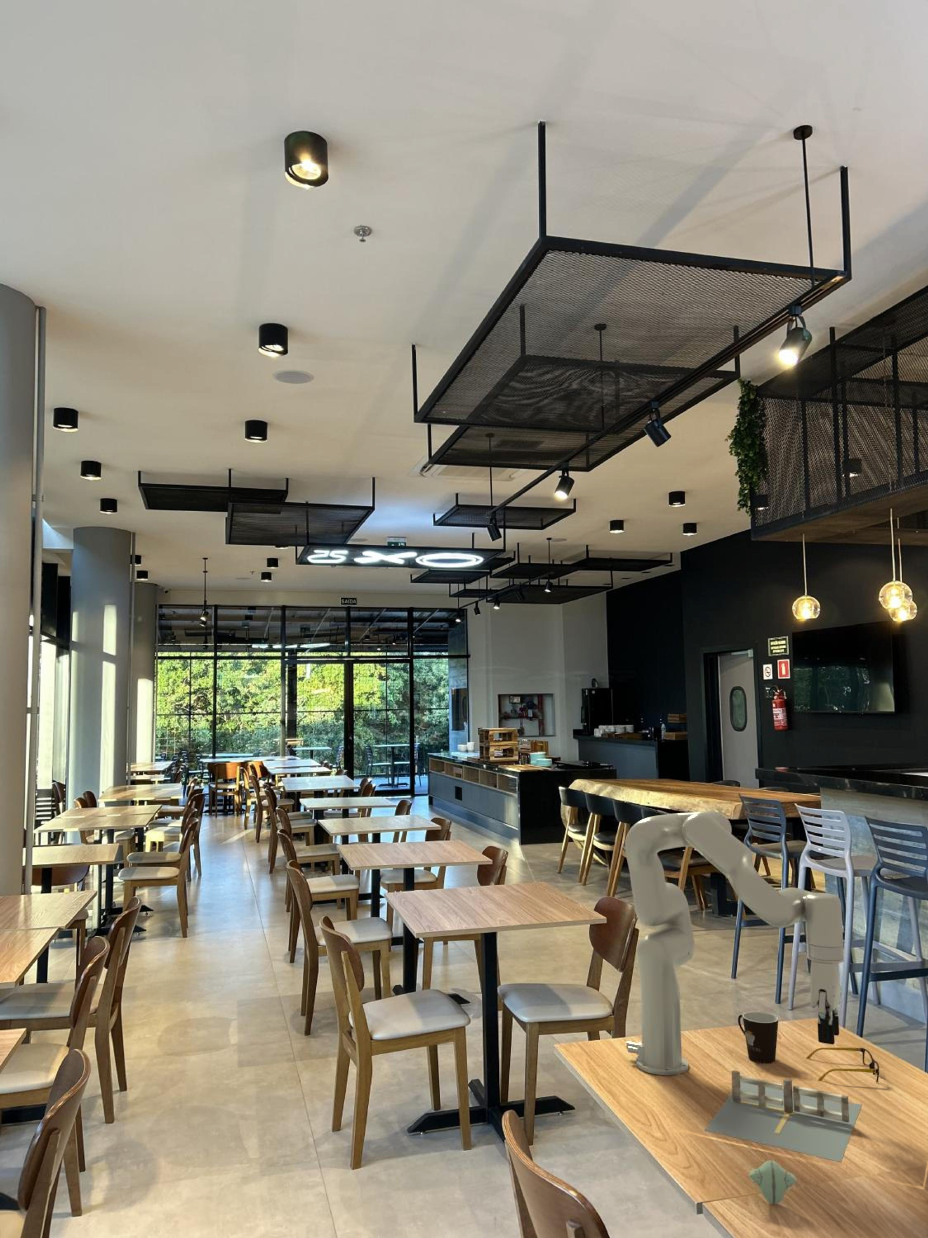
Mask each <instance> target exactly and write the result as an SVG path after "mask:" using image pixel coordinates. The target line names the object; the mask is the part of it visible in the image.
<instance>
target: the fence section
mask: <svg viewBox="0 0 928 1238" xmlns="http://www.w3.org/2000/svg"><path fill="white" fill-rule="evenodd" d="M740 1082H743V1083H748V1084H753V1085H758V1094H754V1093H750V1092H745V1091H741V1086H740ZM765 1087H768V1088H773V1089H778V1090H782V1089H783V1092H784V1111H785V1112H787V1113H793V1096H792V1091H793V1080H792V1079H790V1078H783V1079H782V1083H780V1082H776V1081H770V1080H766V1079H761V1078H755V1077H750V1076H746V1075H741V1072H740V1071H739V1070H731V1093H732V1100H733V1101H734V1102H740V1101H741V1097H742V1098H747V1099H751V1100H756V1101H759V1107H763V1108H765V1106H766V1103H770V1104H775V1105H780V1106H782V1105H783V1099H779V1098H774V1097H769V1096H765Z"/></svg>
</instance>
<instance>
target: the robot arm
mask: <svg viewBox="0 0 928 1238" xmlns="http://www.w3.org/2000/svg"><path fill="white" fill-rule="evenodd" d="M732 829H733V828H732V825H731V823H730V820H729V819H728V818H727V817H726V816H725V815H724V814H723V813H721V812H719V811H715V810H707V811H698V812H680V813H679V812H678V813H667V814H660V815H654V816H649V817H646V818H643V819H641V820H639V821H637V822H636V823H635V824H633V825H632V826H631V827H630V829H629V830H628V832H627V834H626V837H625V841H624V851H625V857H626V860H627V866H628V871H629V876H630V885H631V886H630V887H631V892H632V898H633V906H634V911H635V914H636V915H635V916H636V918H637V919H638V920H639V921H638V922H640V924H642V925H644V926H646V927H649V928H650V927H657V928H658V930H656V931H653V932H650V933H648V934H646V935H644V936H643V937H642V938H641V939H640V941H639V942H638V944H637V947H636V953H635V957H636V962H637V963H636V964H637V968H638V975H639V984H640V985H639V986H640V1006H641V1008H640V1009H641V1010H640V1011H641V1012H640V1017H641V1042H639V1043H637V1042H635V1041H630V1040H628V1041H626V1049H627V1053H632V1054H636V1055H637V1057H636V1058H635V1064H636V1065H635V1066H637V1068H638V1069H640V1070H641V1071H644V1072H645V1073H649V1074H652V1075H658V1076H676V1075H679V1074H682V1073H685V1072H687V1071H688V1070H689V1061H688V1060H687V1059H686V1058H685V1057H683V1056H682V1054H683V1051H682V1048H683V1046H682V1017H681V1016H682V1015H681V1014H682V1010H681V992H680V991H681V990H680V983H679V980H678V976H677V973H676V969H677V968H679V967H681V966H683V965H686V964H687V963H689V962H690V961H691V960H692V958H693V956H694V954H695V938H694V931H693V924H692V919H691V913H690V908H689V907H690V906H689V903H688V900H687V897H686V895H685V893H684V891H683V890H682V889H681V888H680V887H679V886H677V885H676V884H674V883H670V882H667V881H666V879H665V871H664V867H663V864H662V861H661V860H660V858H659V856H658V853H659V852H661V851H664V850H670V849H676V848H682V847H683V848H684V847H692V849H694V850H696V851H697V852H698V853H699V854H700V855H701V856H702V857H704V858H705V859H706V860H707V861H708V862H709V863H710V864H711V865H713V866H714V867H715V868H716V869H717V870H718V871H719V872H721V873H722V874H723V875H724V876H725V877H726V878H727V879H728V882H729V884H730V885H731V887H732V888H733V890H734V892H735V894H736V895H737V896H738V898H739V899H740V901H742V902H743V904H744V905H745V906H746V907H748V908H749V909H750V910H751V911H752V912H753V913H754V914H755V915H756V916H758V917H759V918H760V919H761V920H762V921H764V922H765V923H766V924H767V925H768V924H769V925H770V926H772V927H775V928H779V929H780V928H781V929H783V928H788V927H790V926H792V925H794V924H798V923H802V922H805V938H806V939H805V940H806V958H807V959H808V960H810V975H809V979H810V980H809V981H810V983H809V984H810V985H809V986H810V987H809V988H810V993H809V997H810V999H809V1000H810V1007H811V1008H812V1009H815V1008H816V1007H817V1039H818V1043H821V1044H827V1045H831V1046H832V1045H835V1036H837V1037H838V1036H839V1035H840V1019H839V1016H838V1014H839V1011H838V1005H839V1004H840V1001H841V976H840V975H841V974H840V973H841V972H840V964H841V963H843V962H845V958H844V955H845V954H844V953H845V952H844V936H843V914H842V913H843V912H842V901H841V899H840V898H839V896H837V895H835V894H833V893H826V892H812V891H808V890H805V889H802V888H798V887H785V888H783V889H779V890H777V889H776V888H774V887H773V885H771V884H770V883H768V881H766V880H765V879H764V878H763V877H762V876H761V875H760V874H759V872H758V871H757V870H756V868H755V867H754V866H755V865H754V863H753V862H754V861H753V852H752V849H750V848H749V847H748V846H747V845H745V844H744V843H743V842H742V841H741V840H739V839H738V838H737V837H735V835H733V834H732V831H733V830H732Z"/></svg>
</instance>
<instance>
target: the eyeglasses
mask: <svg viewBox="0 0 928 1238" xmlns="http://www.w3.org/2000/svg"><path fill="white" fill-rule="evenodd" d="M821 1050H824V1051H825V1050H826V1051H827V1050H828V1051H830V1050H831V1051H850V1052H859V1053H860V1052H861V1054H862V1063H863V1065H864V1066H865V1065H866V1062H865V1053H866V1052H867V1053H868V1056H870V1060H871V1061H870V1063H869V1065H868V1067H869V1068H832V1069H829V1070H827V1071H826V1072H825V1073H823V1074H822V1075H821V1076H820V1077H819V1078H818V1079H817V1081H822V1080H824V1079H825V1077H826V1076H827V1075H828V1074H829V1073H831V1072H836V1071H838V1072H857V1073H858V1072H859V1073H867V1074H868V1073H871V1074H872V1076H873V1075H875V1076H876V1080H875V1082H876V1083H878V1082H879V1077H880V1066H879V1063H878V1062H877V1061H876V1060H875V1059H874V1057H873V1055H872V1053H871V1052H870V1051H869V1050H868V1049H866V1048H864V1047H819V1048H816V1049H815V1050H813V1051H812V1052H811V1053H810V1054H809V1055H808V1056H806V1059H807V1060H810V1059H811V1057H813V1056H814V1054H815V1053H816V1052H819V1051H821ZM875 1065H876V1066H877V1068H875V1067H876V1066H875Z"/></svg>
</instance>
